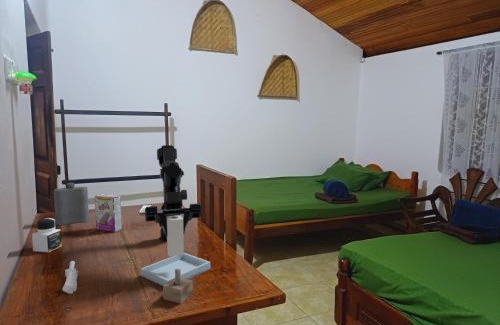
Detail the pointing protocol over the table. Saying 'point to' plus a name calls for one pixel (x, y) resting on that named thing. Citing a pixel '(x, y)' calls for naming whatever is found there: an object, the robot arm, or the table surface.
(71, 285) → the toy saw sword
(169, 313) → the table surface
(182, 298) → the wood block with post
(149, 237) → the table surface
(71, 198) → the flask
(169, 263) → the tray
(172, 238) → the bored block
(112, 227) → the candy bar box
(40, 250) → the medicine bottle
